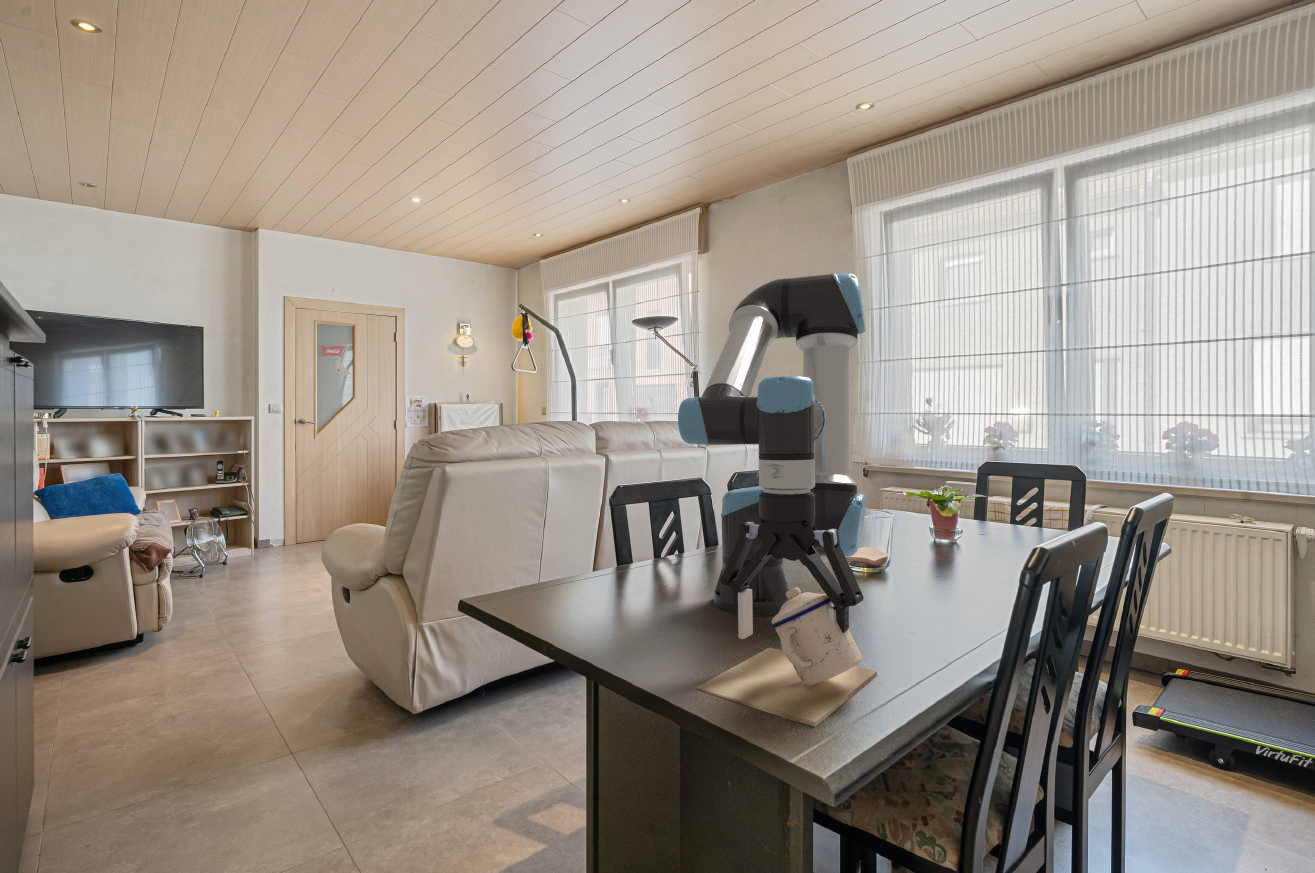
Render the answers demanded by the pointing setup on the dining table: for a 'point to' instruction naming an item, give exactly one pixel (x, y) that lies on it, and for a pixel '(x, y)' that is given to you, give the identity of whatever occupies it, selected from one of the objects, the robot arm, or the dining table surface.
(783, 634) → the teacup with lid
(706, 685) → the cork mat
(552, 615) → the dining table surface
